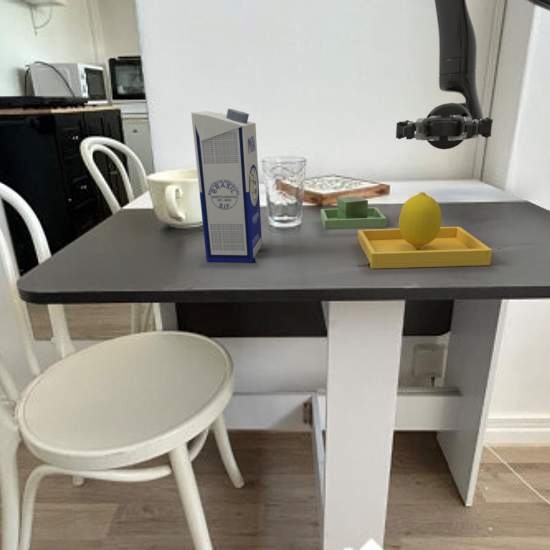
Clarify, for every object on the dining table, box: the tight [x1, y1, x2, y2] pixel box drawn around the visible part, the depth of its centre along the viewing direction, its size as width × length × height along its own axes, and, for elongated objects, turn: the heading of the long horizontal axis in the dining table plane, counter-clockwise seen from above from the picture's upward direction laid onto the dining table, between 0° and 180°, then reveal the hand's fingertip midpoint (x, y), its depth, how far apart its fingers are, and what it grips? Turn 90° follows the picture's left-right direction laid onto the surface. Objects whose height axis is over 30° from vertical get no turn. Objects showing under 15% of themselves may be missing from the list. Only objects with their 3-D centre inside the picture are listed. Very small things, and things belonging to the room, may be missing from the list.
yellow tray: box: [357, 226, 493, 270], centre depth 61 cm, size 15×11×2 cm
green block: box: [336, 195, 369, 219], centre depth 76 cm, size 4×4×4 cm
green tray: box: [320, 206, 387, 230], centre depth 76 cm, size 10×8×2 cm
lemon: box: [398, 191, 442, 249], centre depth 60 cm, size 6×6×8 cm
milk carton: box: [190, 108, 263, 263], centre depth 61 cm, size 7×7×20 cm
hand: (438, 131), depth 65 cm, fingers open, 8 cm apart
